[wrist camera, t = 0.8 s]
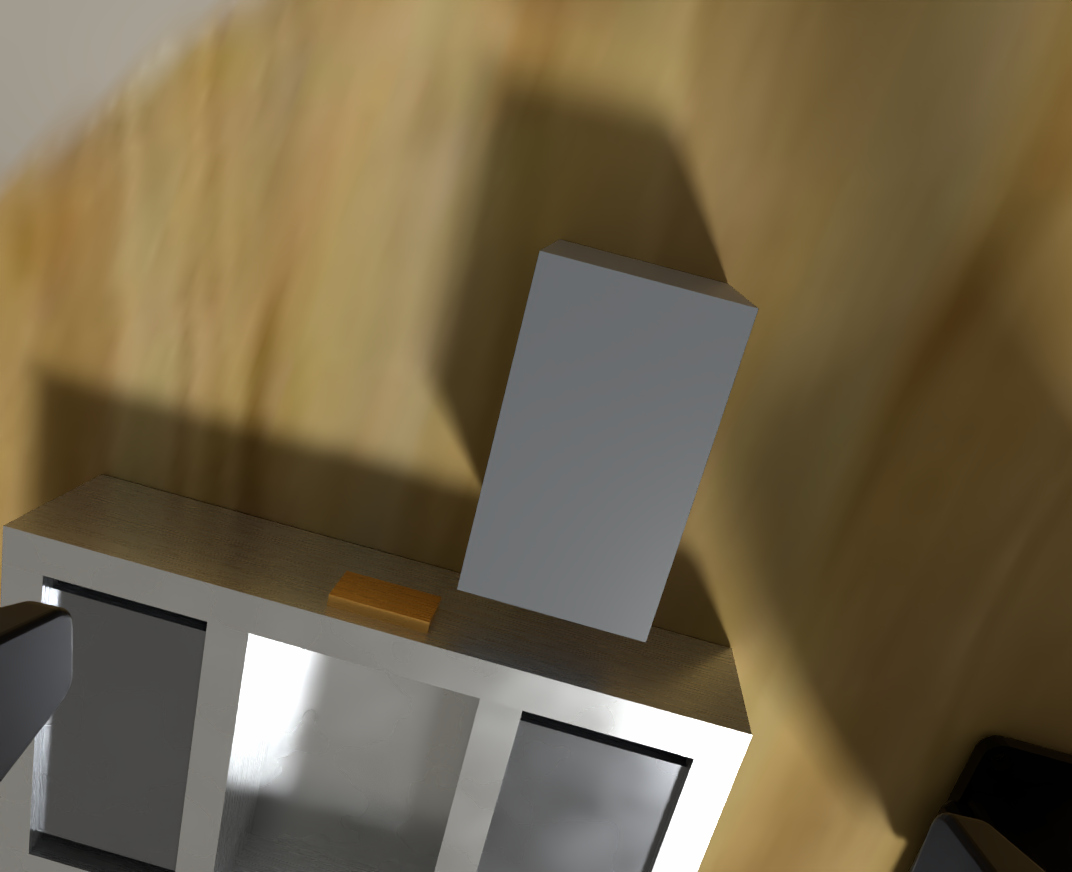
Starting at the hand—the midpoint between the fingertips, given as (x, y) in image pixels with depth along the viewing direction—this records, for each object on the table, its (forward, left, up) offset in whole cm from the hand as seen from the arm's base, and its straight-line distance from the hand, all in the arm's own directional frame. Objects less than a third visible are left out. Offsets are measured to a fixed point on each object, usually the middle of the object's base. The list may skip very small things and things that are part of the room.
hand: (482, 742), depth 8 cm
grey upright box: (-1, -1, -12) cm, 12 cm away
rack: (+3, +10, -12) cm, 16 cm away
